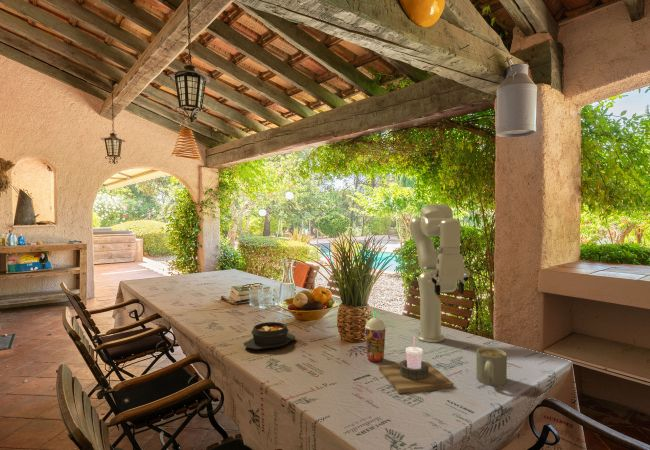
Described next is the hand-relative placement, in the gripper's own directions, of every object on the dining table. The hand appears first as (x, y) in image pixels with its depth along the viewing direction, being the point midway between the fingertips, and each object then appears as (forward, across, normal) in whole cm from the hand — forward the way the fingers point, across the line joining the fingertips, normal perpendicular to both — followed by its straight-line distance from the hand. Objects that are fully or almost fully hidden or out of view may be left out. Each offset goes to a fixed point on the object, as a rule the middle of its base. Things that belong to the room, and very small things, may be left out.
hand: (449, 293), depth 157 cm
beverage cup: (+26, -19, -12) cm, 35 cm away
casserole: (+29, -70, +33) cm, 83 cm away
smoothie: (+28, -28, +7) cm, 40 cm away
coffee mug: (+27, +6, -20) cm, 34 cm away
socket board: (+27, -19, -13) cm, 36 cm away
